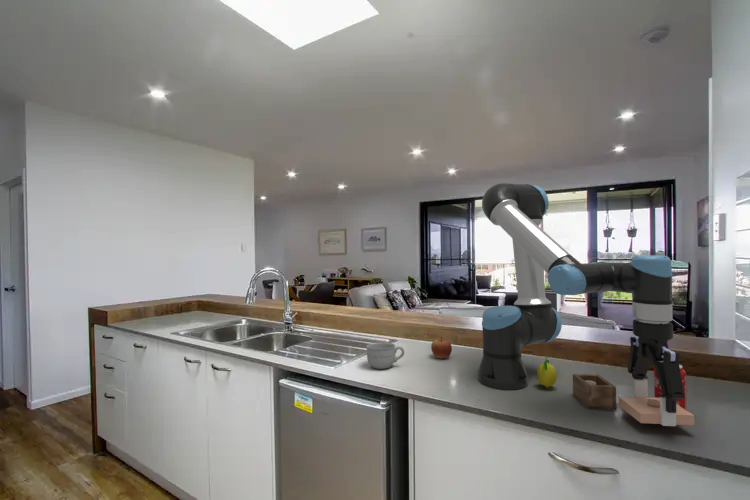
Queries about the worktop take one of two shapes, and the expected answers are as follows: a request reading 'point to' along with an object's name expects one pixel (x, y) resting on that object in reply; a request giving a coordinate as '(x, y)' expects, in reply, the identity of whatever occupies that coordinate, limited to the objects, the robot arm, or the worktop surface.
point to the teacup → (382, 355)
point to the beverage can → (658, 392)
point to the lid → (652, 410)
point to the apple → (441, 348)
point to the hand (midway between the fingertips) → (654, 414)
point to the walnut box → (594, 391)
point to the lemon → (546, 374)
